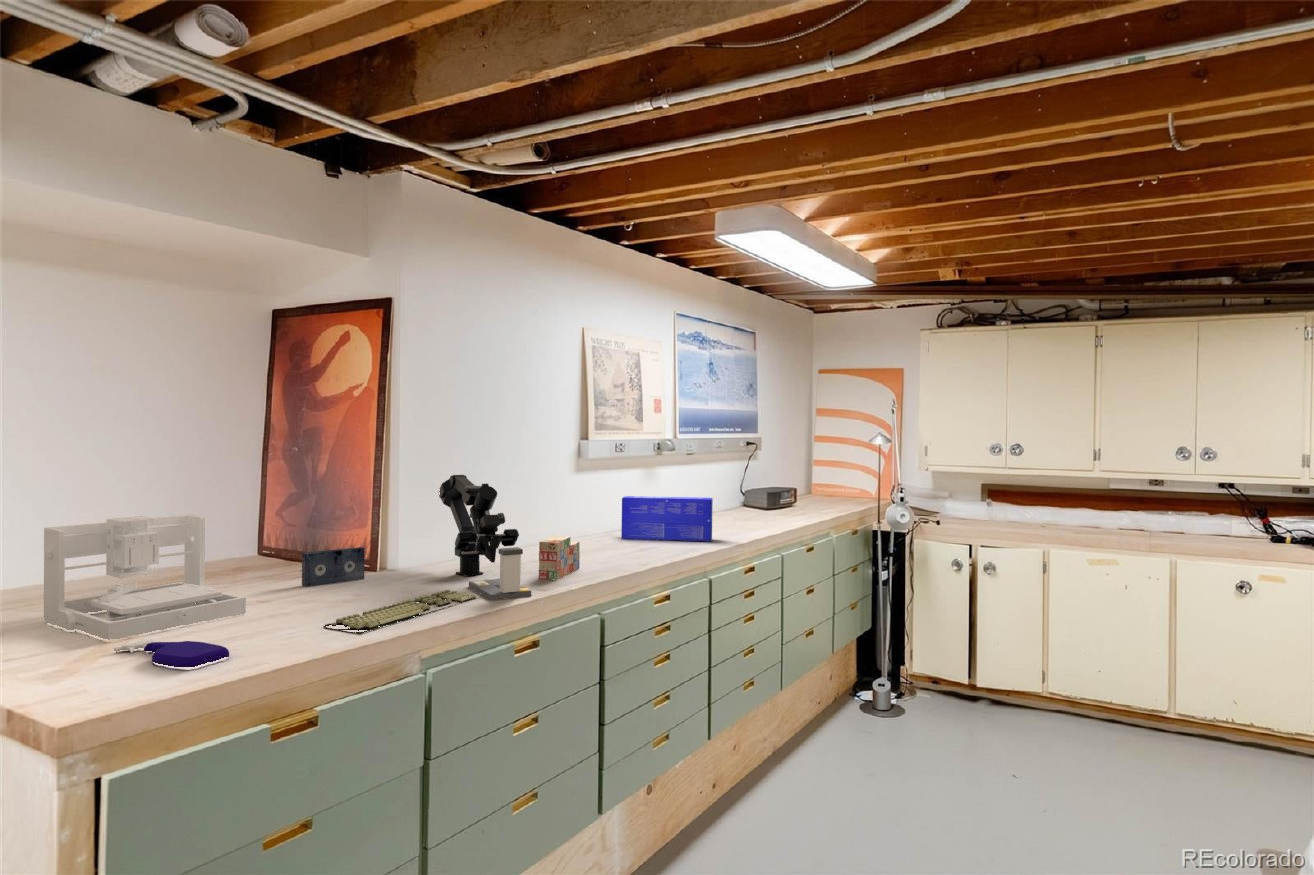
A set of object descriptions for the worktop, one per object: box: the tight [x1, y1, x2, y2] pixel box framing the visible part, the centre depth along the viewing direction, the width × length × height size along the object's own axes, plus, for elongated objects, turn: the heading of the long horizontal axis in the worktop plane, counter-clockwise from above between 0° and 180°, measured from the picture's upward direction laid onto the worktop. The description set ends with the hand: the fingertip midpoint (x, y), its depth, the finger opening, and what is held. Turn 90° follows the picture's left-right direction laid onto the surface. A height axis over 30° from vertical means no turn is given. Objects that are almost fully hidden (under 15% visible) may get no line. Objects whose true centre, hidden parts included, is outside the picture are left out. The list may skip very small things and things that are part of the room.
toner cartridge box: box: [620, 495, 714, 542], centre depth 335 cm, size 39×8×18 cm, turn 84°
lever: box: [497, 546, 524, 593], centre depth 221 cm, size 4×6×12 cm, turn 121°
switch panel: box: [468, 578, 532, 601], centre depth 228 cm, size 20×12×2 cm, turn 31°
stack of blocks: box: [538, 535, 581, 581], centre depth 256 cm, size 21×6×12 cm, turn 166°
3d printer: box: [43, 514, 247, 640], centre depth 190 cm, size 35×32×25 cm
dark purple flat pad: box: [113, 638, 230, 667], centre depth 161 cm, size 3×11×24 cm
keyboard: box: [323, 589, 482, 635], centre depth 203 cm, size 45×15×2 cm, turn 154°
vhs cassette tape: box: [301, 546, 366, 588], centre depth 236 cm, size 18×3×10 cm, turn 134°
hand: (493, 561), depth 233 cm, fingers closed
